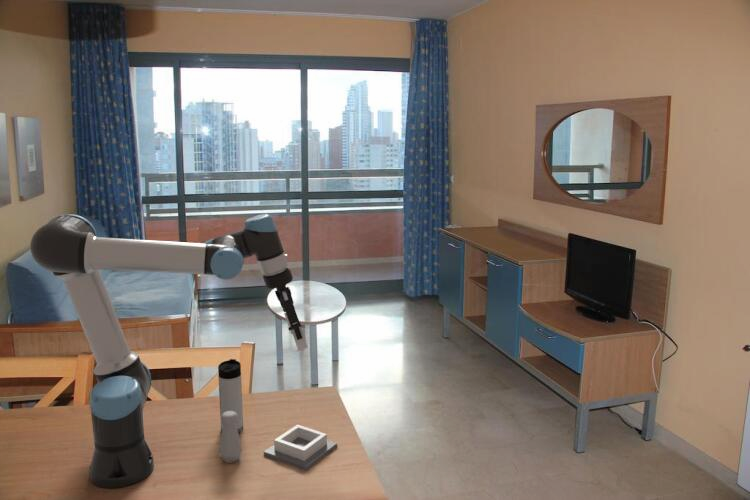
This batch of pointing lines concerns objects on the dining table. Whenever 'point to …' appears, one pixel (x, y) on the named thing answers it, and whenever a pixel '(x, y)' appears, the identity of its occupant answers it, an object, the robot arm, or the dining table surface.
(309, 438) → the socket
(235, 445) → the grey bulb peg
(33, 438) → the dining table surface
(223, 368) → the travel mug
